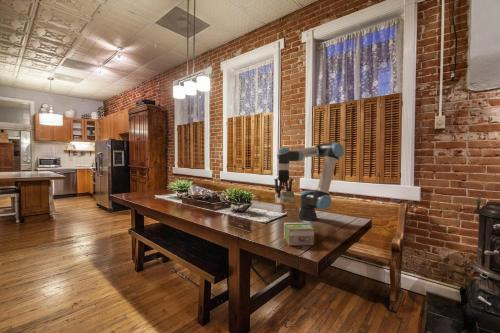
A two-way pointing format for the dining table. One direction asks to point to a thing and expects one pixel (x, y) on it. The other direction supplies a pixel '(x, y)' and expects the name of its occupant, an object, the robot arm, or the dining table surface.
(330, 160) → the robot arm
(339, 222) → the dining table surface
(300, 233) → the tea box
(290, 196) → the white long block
